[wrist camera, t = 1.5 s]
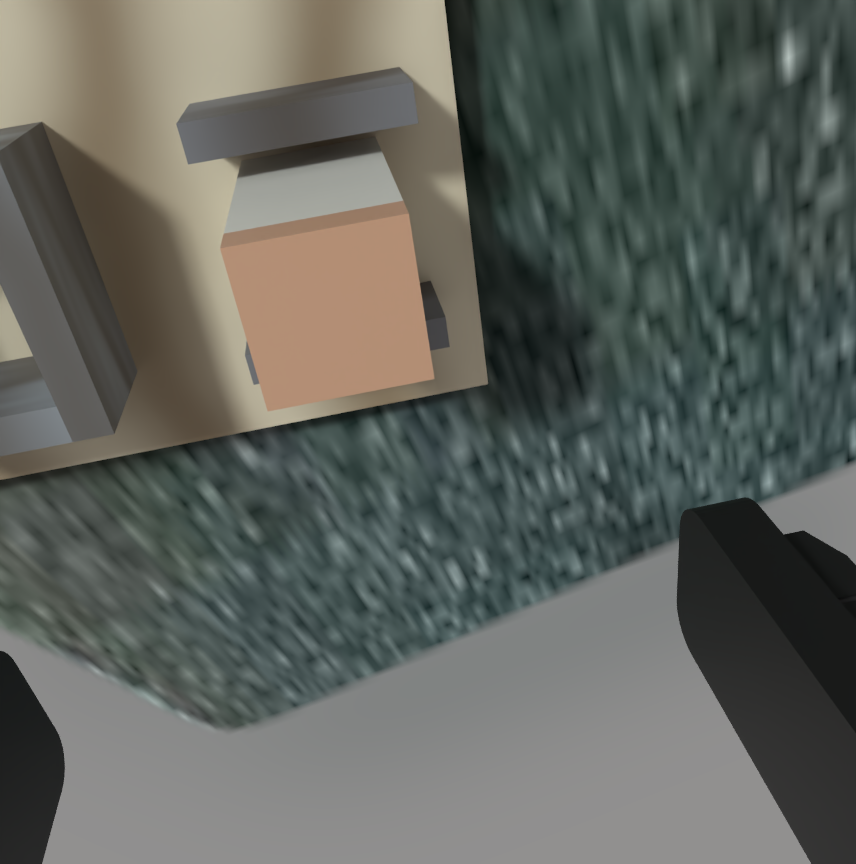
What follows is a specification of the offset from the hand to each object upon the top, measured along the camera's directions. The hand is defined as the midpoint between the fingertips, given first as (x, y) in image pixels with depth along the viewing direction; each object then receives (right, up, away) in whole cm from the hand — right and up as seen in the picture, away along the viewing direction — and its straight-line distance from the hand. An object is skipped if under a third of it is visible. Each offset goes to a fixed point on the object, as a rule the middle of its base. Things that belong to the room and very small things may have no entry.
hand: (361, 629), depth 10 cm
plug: (-2, +9, +15) cm, 18 cm away
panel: (-8, +9, +16) cm, 20 cm away
